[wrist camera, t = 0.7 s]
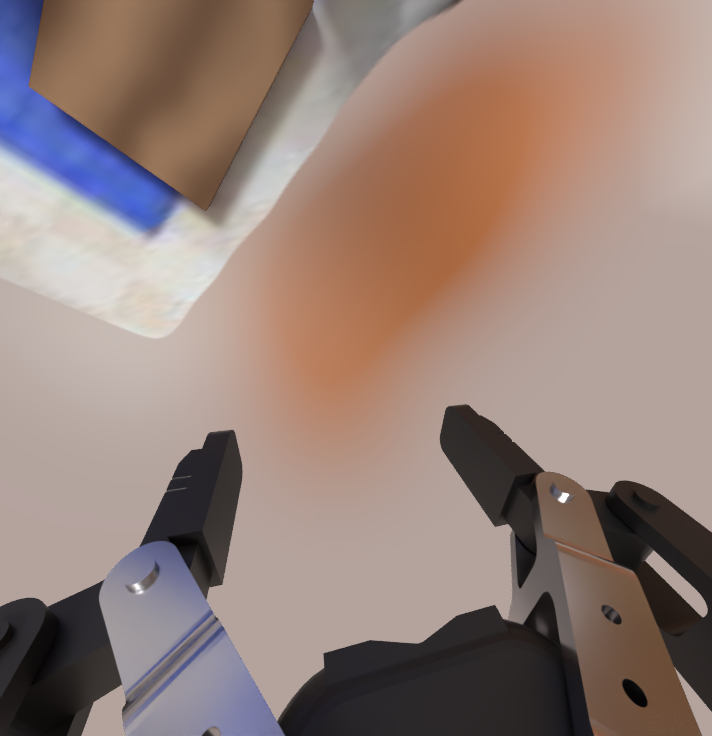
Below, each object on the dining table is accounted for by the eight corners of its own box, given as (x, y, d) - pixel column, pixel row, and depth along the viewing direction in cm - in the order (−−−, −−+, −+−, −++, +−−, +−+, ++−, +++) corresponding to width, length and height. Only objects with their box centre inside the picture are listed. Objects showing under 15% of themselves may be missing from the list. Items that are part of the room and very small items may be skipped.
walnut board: (42, 88, 20) (28, 86, 19) (113, -273, 13) (98, -308, 12) (208, 207, 27) (205, 210, 26) (312, 7, 20) (313, 1, 19)
